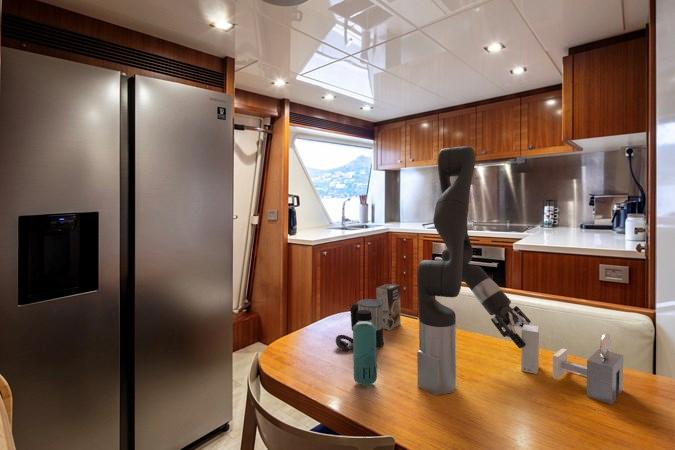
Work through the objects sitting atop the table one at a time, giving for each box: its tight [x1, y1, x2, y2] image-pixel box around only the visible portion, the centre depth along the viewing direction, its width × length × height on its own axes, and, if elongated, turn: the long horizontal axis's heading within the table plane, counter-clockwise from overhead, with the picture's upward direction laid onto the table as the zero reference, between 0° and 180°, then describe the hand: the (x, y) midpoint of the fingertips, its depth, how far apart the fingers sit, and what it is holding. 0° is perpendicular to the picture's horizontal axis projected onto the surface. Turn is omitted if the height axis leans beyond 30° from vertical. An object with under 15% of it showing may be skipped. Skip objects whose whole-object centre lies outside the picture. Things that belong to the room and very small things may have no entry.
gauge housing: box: [566, 332, 624, 405], centre depth 90 cm, size 13×15×15 cm
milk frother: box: [335, 298, 385, 352], centre depth 118 cm, size 14×16×15 cm
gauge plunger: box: [552, 348, 587, 380], centre depth 91 cm, size 11×11×6 cm
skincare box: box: [520, 324, 540, 375], centre depth 99 cm, size 6×4×12 cm
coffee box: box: [375, 283, 401, 331], centre depth 137 cm, size 9×6×16 cm
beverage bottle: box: [352, 310, 378, 386], centre depth 92 cm, size 6×7×20 cm
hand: (529, 342), depth 99 cm, fingers open, 8 cm apart
